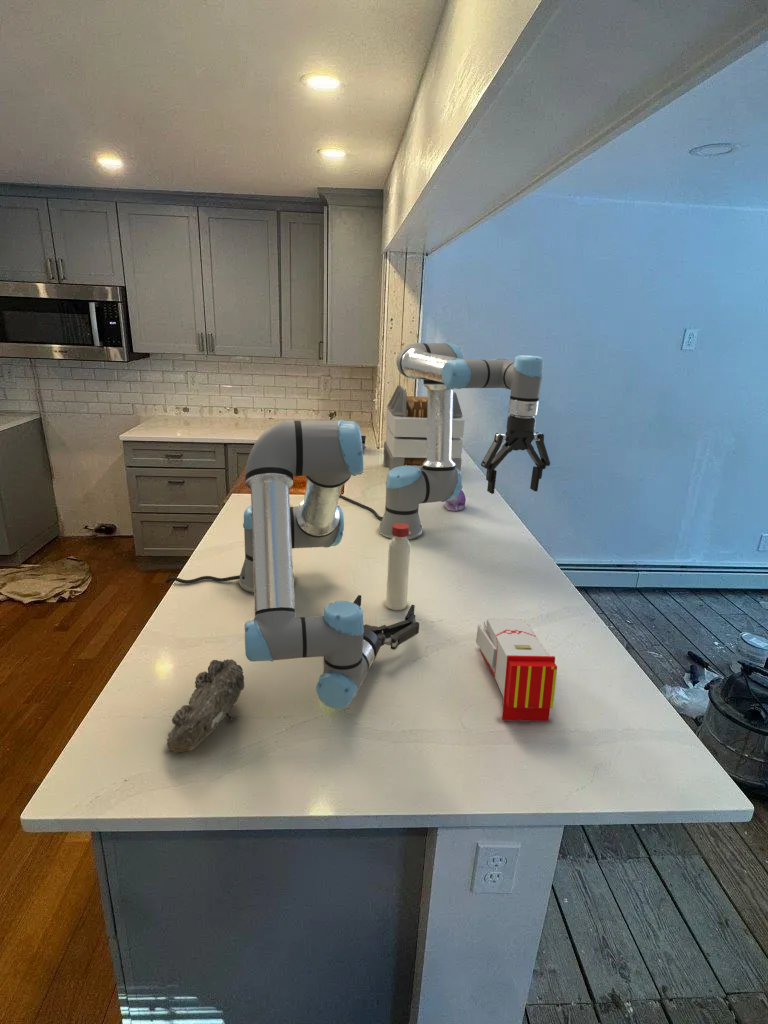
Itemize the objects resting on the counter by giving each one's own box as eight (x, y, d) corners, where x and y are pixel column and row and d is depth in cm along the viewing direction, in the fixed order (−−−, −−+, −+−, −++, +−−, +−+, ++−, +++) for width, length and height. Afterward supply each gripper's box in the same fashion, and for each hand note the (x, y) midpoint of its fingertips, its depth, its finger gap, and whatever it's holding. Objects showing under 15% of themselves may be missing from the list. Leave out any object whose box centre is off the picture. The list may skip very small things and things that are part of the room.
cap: (408, 531, 147) (408, 523, 146) (408, 537, 143) (409, 529, 142) (391, 530, 147) (392, 522, 146) (391, 536, 143) (392, 528, 142)
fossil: (192, 660, 117) (244, 628, 112) (224, 691, 120) (276, 661, 115) (142, 746, 98) (202, 712, 93) (182, 779, 101) (242, 748, 96)
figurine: (452, 513, 222) (455, 476, 217) (438, 505, 231) (441, 469, 226) (471, 510, 227) (475, 474, 221) (457, 502, 235) (460, 467, 230)
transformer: (382, 463, 289) (386, 382, 275) (445, 464, 293) (451, 384, 279) (390, 482, 257) (394, 392, 243) (460, 483, 261) (468, 394, 247)
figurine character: (365, 456, 306) (365, 447, 319) (365, 443, 302) (366, 434, 316) (353, 456, 306) (353, 446, 319) (353, 442, 302) (354, 433, 316)
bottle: (406, 600, 155) (411, 523, 147) (406, 610, 149) (411, 531, 142) (385, 599, 155) (389, 522, 147) (385, 609, 149) (389, 530, 142)
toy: (523, 604, 135) (566, 662, 106) (518, 656, 138) (559, 727, 109) (472, 603, 135) (501, 661, 105) (468, 655, 138) (496, 726, 108)
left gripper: (304, 654, 125) (338, 609, 144) (414, 678, 118) (434, 627, 138) (304, 625, 122) (338, 582, 141) (416, 647, 116) (436, 600, 135)
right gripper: (486, 419, 145) (477, 497, 152) (570, 417, 152) (558, 493, 159) (473, 413, 151) (466, 489, 159) (554, 412, 159) (543, 484, 166)
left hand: (386, 604), depth 139 cm, fingers open, 13 cm apart
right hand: (512, 491), depth 159 cm, fingers open, 13 cm apart
